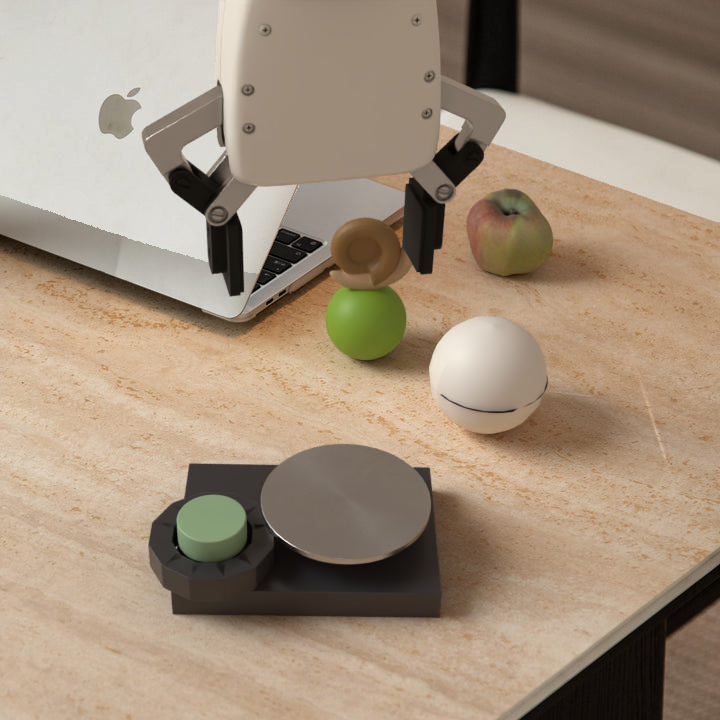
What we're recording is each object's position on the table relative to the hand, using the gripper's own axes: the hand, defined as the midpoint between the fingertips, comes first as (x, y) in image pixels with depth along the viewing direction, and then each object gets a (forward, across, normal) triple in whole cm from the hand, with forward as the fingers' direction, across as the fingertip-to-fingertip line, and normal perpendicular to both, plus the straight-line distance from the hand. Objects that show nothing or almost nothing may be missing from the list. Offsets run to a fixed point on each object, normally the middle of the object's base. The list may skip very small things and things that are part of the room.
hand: (325, 271), depth 63 cm
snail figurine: (+16, -7, -14) cm, 22 cm away
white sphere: (+16, -13, -4) cm, 21 cm away
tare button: (+13, +7, +5) cm, 15 cm away
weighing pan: (+12, 0, +4) cm, 13 cm away
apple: (+16, -19, -23) cm, 34 cm away
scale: (+16, +2, +3) cm, 16 cm away
